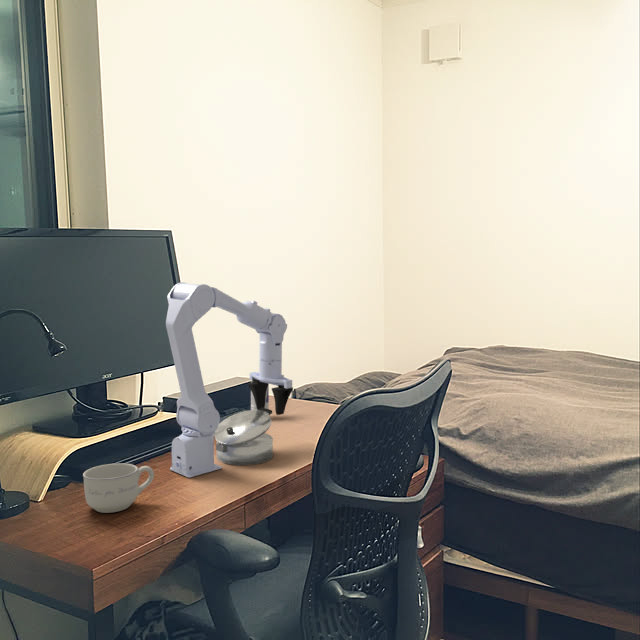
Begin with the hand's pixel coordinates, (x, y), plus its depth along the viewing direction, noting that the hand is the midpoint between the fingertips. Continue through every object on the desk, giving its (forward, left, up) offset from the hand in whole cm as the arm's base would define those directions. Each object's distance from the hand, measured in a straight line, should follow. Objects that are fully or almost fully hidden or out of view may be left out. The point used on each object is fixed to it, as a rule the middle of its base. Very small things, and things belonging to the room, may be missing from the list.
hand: (270, 411), depth 180 cm
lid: (-8, 0, -3) cm, 9 cm away
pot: (-8, 0, -10) cm, 13 cm away
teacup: (-47, -8, -10) cm, 49 cm away
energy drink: (+18, +25, -10) cm, 32 cm away
